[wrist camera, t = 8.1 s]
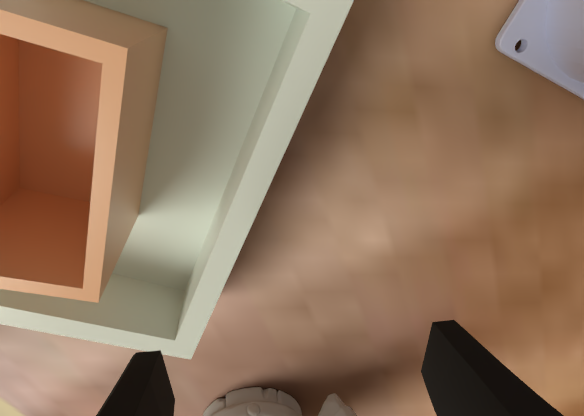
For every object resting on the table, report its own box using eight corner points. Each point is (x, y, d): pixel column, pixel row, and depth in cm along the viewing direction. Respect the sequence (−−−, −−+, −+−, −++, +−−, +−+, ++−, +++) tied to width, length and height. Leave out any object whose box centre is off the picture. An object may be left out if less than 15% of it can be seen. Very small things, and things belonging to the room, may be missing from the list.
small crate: (167, 27, 13) (127, 48, 9) (138, 215, 17) (98, 302, 12) (8, -24, 12) (-140, -34, 7) (12, 190, 16) (-87, 276, 11)
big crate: (328, -8, 14) (357, -8, 11) (199, 298, 21) (190, 359, 17) (-135, -256, 10) (-332, -385, 7) (-113, 225, 17) (-205, 286, 13)
